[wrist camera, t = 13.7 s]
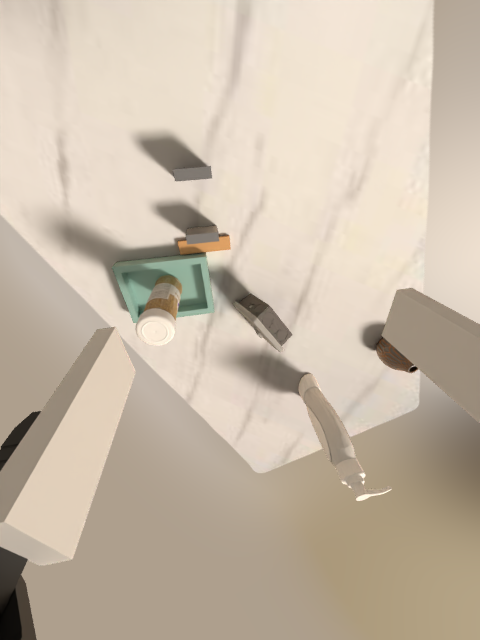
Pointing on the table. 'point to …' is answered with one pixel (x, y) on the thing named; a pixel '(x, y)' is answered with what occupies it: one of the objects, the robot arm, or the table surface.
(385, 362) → the vase
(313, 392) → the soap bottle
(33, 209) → the table surface
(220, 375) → the table surface
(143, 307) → the parts tray
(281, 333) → the electrical switch
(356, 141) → the table surface
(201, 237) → the grey and orange blocks
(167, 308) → the sprinkles bottle
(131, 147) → the table surface
